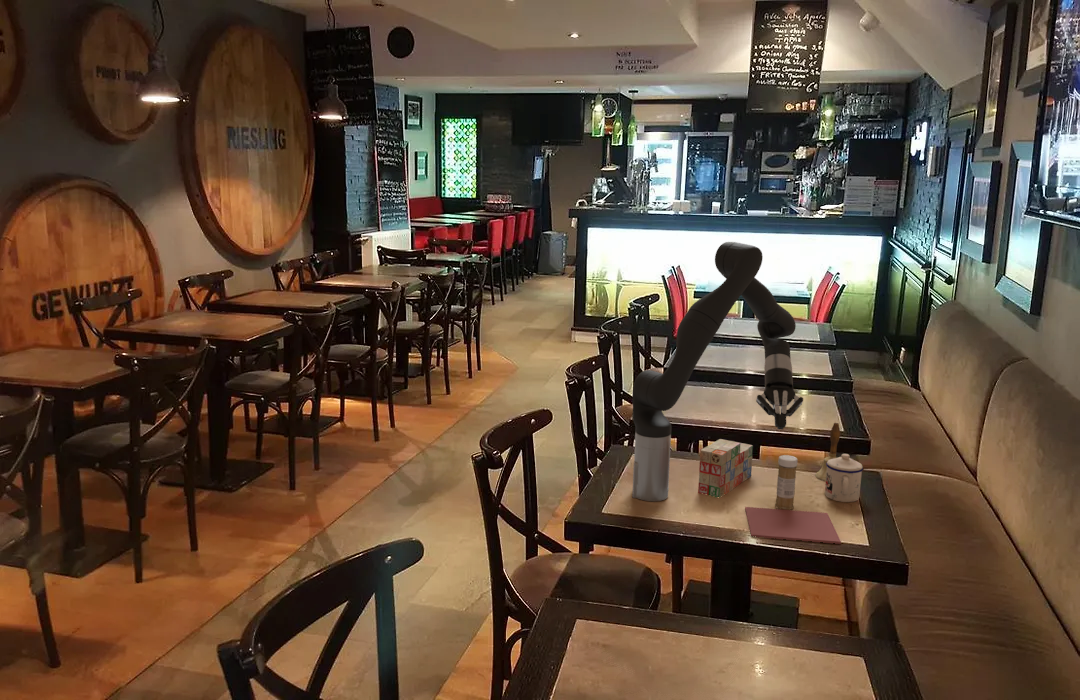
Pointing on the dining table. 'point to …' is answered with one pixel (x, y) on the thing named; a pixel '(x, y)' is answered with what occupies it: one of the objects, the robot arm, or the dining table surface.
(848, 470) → the teacup with lid
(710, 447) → the stack of blocks
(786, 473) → the sprinkles bottle
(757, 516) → the mat
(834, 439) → the hand bell
